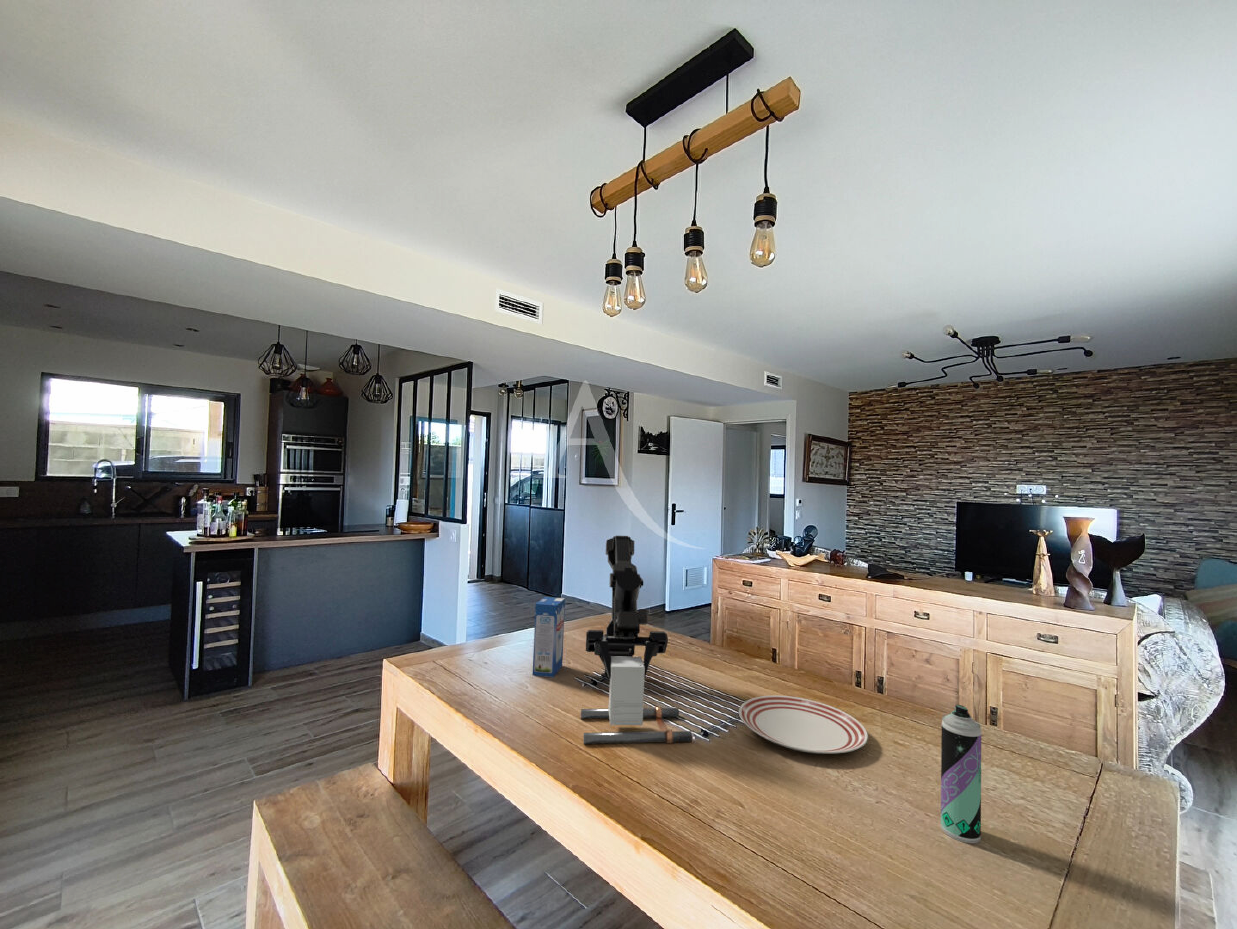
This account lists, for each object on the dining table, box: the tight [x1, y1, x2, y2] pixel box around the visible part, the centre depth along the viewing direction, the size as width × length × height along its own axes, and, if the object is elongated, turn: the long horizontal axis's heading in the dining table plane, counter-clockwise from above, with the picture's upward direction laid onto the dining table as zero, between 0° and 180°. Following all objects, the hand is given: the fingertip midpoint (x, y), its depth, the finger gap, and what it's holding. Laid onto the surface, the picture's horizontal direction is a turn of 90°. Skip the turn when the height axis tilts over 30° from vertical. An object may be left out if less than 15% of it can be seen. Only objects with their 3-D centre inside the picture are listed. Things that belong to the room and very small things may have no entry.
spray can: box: [940, 704, 982, 844], centre depth 86 cm, size 6×6×20 cm
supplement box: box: [608, 656, 645, 726], centre depth 118 cm, size 7×7×13 cm
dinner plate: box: [738, 695, 869, 755], centre depth 120 cm, size 28×27×3 cm
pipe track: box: [580, 706, 693, 745], centre depth 118 cm, size 23×15×3 cm, turn 97°
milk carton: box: [532, 596, 566, 678], centre depth 154 cm, size 10×6×20 cm, turn 172°
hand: (627, 677), depth 117 cm, fingers closed on supplement box, 7 cm apart
